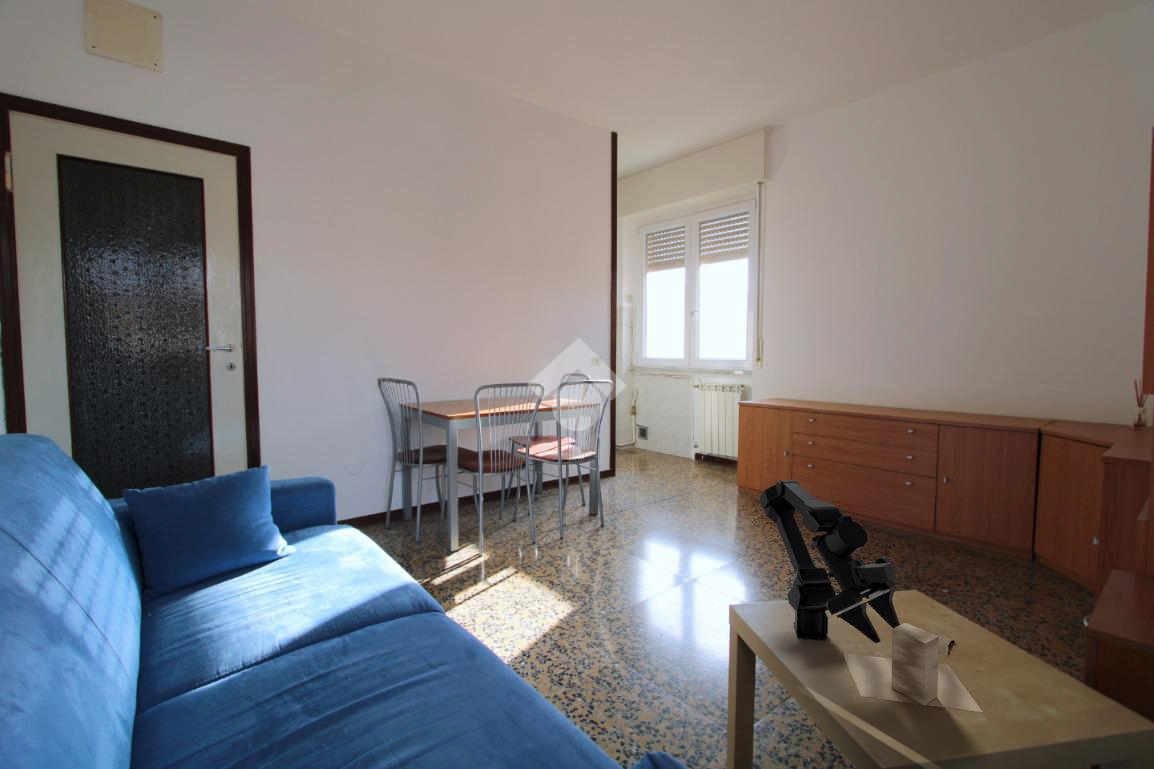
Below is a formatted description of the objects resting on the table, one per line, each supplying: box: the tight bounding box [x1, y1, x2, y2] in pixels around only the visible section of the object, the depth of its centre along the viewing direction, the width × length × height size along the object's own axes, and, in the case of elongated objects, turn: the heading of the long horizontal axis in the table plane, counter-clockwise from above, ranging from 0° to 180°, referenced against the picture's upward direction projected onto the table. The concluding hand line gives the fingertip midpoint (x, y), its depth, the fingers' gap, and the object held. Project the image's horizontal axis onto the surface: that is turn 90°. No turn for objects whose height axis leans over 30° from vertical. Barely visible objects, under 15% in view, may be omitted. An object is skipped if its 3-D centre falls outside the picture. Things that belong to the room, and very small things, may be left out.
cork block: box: [891, 622, 940, 707], centre depth 101 cm, size 6×4×12 cm
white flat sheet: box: [842, 652, 984, 713], centre depth 105 cm, size 20×15×1 cm
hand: (888, 636), depth 105 cm, fingers open, 9 cm apart
